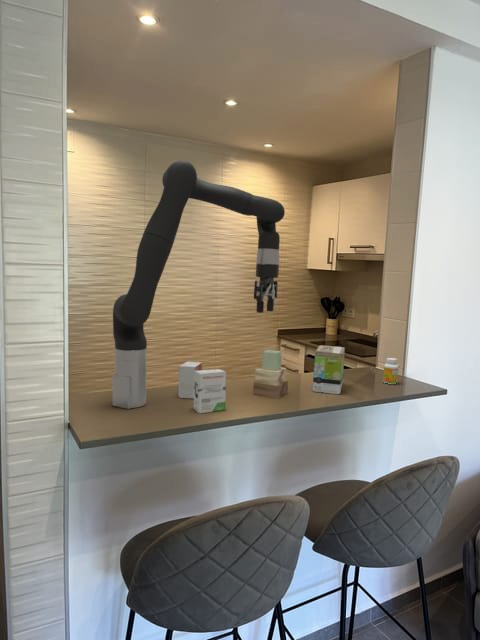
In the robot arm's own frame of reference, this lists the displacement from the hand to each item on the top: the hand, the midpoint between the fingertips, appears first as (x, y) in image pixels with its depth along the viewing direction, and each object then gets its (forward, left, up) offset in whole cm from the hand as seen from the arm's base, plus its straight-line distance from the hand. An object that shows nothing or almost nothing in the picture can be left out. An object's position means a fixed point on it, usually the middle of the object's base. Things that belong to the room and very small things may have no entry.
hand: (265, 311), depth 152 cm
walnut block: (+1, -3, -28) cm, 29 cm away
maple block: (+1, -3, -24) cm, 24 cm away
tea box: (+20, -18, -28) cm, 39 cm away
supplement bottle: (+41, -37, -28) cm, 62 cm away
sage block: (+1, -3, -19) cm, 20 cm away
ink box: (-25, +6, -28) cm, 38 cm away
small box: (-15, +19, -28) cm, 37 cm away
